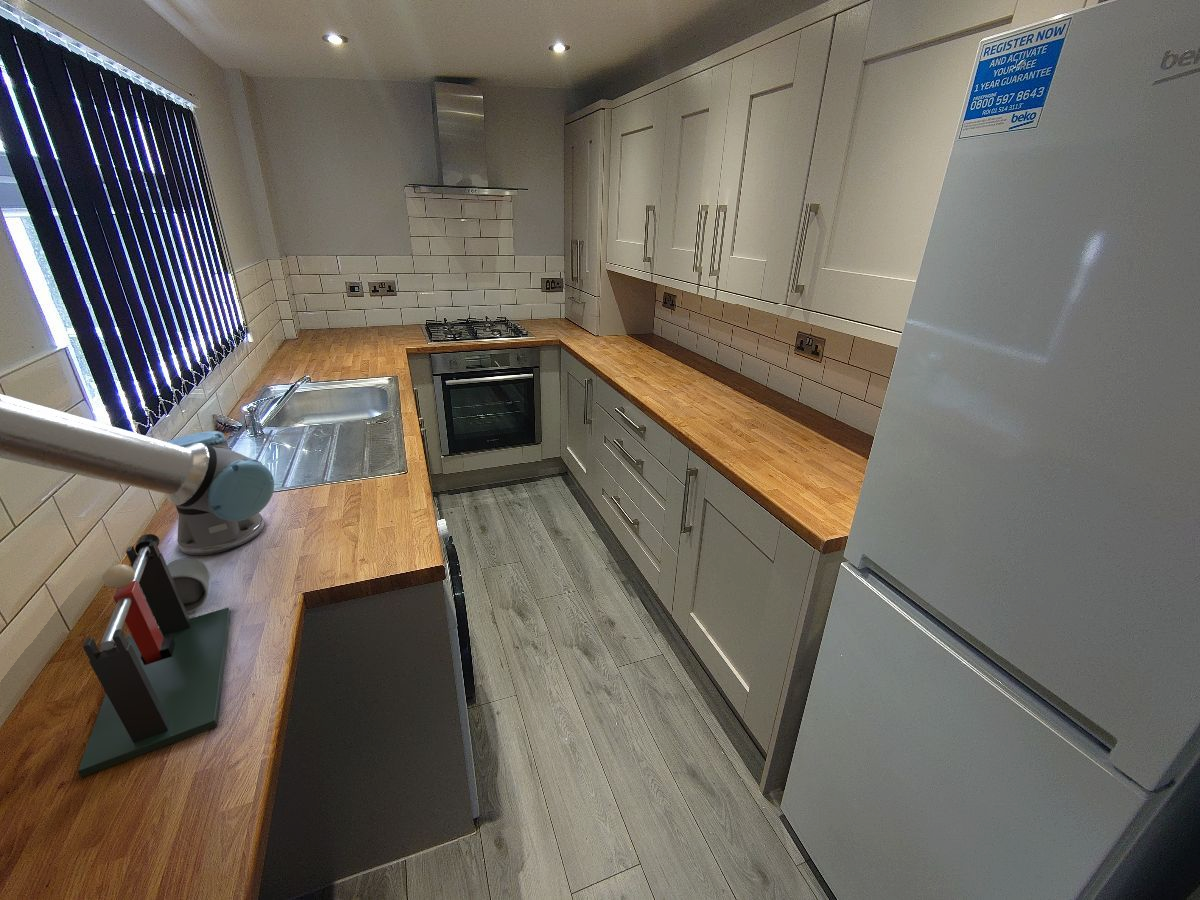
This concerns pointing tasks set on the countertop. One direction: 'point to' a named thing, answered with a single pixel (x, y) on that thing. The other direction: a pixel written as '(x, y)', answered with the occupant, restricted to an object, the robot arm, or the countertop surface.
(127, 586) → the foosball rod
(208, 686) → the foosball frame
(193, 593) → the ceramic mug
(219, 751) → the countertop surface
